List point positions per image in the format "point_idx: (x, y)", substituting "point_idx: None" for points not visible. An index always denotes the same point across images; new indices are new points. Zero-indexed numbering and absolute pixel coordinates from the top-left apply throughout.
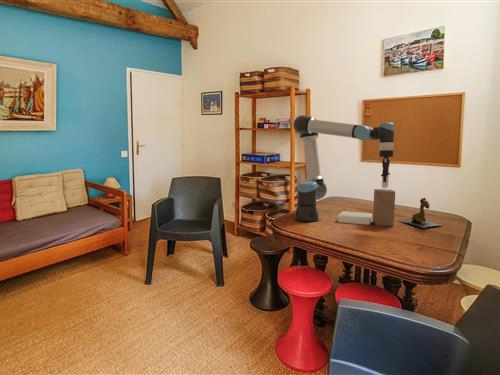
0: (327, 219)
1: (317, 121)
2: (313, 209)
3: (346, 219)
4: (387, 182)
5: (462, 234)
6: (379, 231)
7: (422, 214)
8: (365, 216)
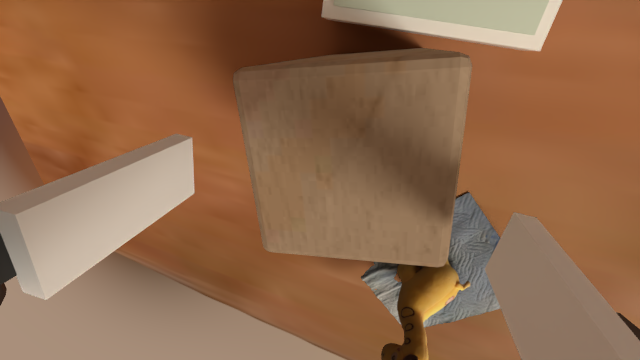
0: None
1: None
2: None
3: None
4: (506, 301)
5: (265, 319)
6: (193, 62)
7: (397, 304)
8: None
